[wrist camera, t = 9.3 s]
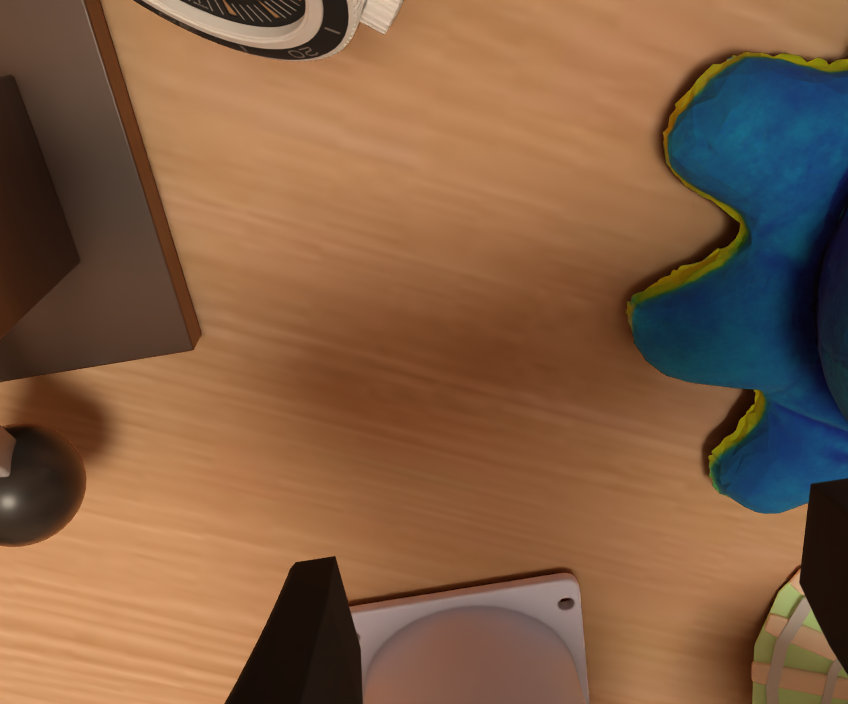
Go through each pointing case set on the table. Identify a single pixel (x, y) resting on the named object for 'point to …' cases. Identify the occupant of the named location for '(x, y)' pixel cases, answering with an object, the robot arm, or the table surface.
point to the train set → (795, 655)
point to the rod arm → (37, 483)
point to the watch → (278, 23)
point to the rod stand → (78, 204)
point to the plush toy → (764, 271)
